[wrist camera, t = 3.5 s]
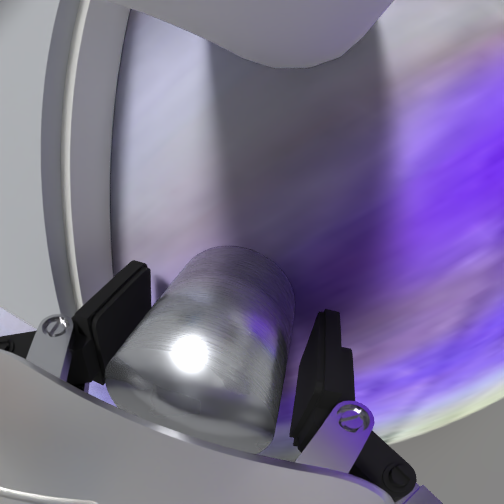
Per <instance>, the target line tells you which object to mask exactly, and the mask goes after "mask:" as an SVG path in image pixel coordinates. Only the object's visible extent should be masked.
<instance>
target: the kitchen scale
mask: <svg viewBox="0 0 504 504" xmlns="http://www.w3.org/2000/svg"><path fill="white" fill-rule="evenodd" d="M129 13H130V8H127V7H124V6H121V5H118V4H115V3H112V2H108V1H105V0H0V307H1V308H3V309H4V310H6V311H7V312H9V313H11V314H12V315H14V316H15V317H17V318H19V319H20V320H22V321H24V322H25V323H27V324H29V325H30V326H32V327H34V328H35V329H38V326H39V324H40V322H41V321H42V320H43V319H44V318H46V317H48V316H50V315H54V314H63V315H66V316H68V317H70V318H72V317H73V316H74V315H75V313H76V312H77V311H78V310H79V309H80V308H81V307H82V306H83V305H84V304H85V303H86V302H87V301H88V300H89V299H90V298H92V297H93V296H94V295H95V294H96V293H97V292H98V291H99V290H100V289H101V288H102V287H103V286H105V285H106V284H107V283H108V282H109V281H110V280H111V279H112V278H113V268H112V253H111V233H110V161H111V141H112V127H113V115H114V105H115V95H116V87H117V79H118V72H119V65H120V59H121V53H122V47H123V42H124V36H125V31H126V26H127V22H128V17H129Z"/></svg>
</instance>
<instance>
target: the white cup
mask: <svg viewBox="0 0 504 504" xmlns="http://www.w3.org/2000/svg"><path fill="white" fill-rule="evenodd" d="M105 1H108V2H112V3H115V4H118V5H121V6H124V7H127V8H130V9H133V10H136V11H139V12H142V13H144V14H147V15H150V16H152V17H155V18H158V19H160V20H163V21H165V22H168V23H170V24H172V25H175V26H177V27H179V28H182V29H184V30H186V31H189V32H191V33H193V34H195V35H197V36H200V37H202V38H204V39H206V40H208V41H210V42H212V43H214V44H216V45H218V46H220V47H222V48H224V49H226V50H228V51H230V52H232V53H234V54H236V55H237V56H239V57H241V58H243V59H246V60H249V61H253V62H256V63H259V64H262V65H265V66H268V67H271V68H310V67H313V66H316V65H319V64H322V63H324V62H327V61H330V60H333V59H336V58H339V57H341V56H342V55H343V54H344V53H346V52H347V51H348V50H349V49H350V48H351V47H352V46H354V45H355V44H356V43H357V42H358V41H359V40H361V39H362V38H363V36H364V35H365V34H366V33H367V32H368V30H369V29H370V28H371V27H372V26H373V24H374V23H375V22H376V21H377V20H378V18H379V17H380V16H381V15H382V14H383V12H384V11H385V10H386V9H387V8H388V7H389V5H390V4H391V3H392V2H393V1H394V0H105Z"/></svg>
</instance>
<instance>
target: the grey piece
mask: <svg viewBox="0 0 504 504" xmlns="http://www.w3.org/2000/svg"><path fill="white" fill-rule="evenodd" d="M294 312H295V296H294V292H293V289H292V286H291V284H290V282H289V280H288V278H287V277H286V275H285V274H284V273H283V271H282V270H281V269H280V268H279V267H278V266H277V265H276V264H275V263H274V262H272V261H271V260H270V259H268V258H267V257H265V256H263V255H262V254H260V253H257V252H255V251H253V250H250V249H246V248H243V247H237V246H219V247H214V248H210V249H207V250H205V251H203V252H201V253H199V254H197V255H196V256H195V257H193V258H192V259H191V260H190V261H189V262H188V264H187V265H186V266H185V267H184V268H183V270H182V271H181V272H180V273H179V274H178V276H177V277H176V278H175V279H174V281H173V282H172V283H171V284H170V285H169V287H168V288H167V289H166V290H165V292H164V293H163V294H162V295H161V297H160V298H159V299H158V300H157V302H156V303H155V304H154V305H153V307H152V308H151V309H150V310H149V312H148V313H147V314H146V315H145V317H144V318H143V319H142V320H141V322H140V323H139V324H138V325H137V327H136V328H135V329H134V331H133V332H132V333H131V334H130V336H129V337H128V338H127V340H126V341H125V342H124V343H123V345H122V346H121V347H120V349H119V350H118V351H117V353H116V354H115V355H114V356H113V358H112V359H111V360H110V362H109V363H108V365H107V367H106V370H105V383H106V387H107V390H108V392H109V394H110V396H111V398H112V400H113V401H114V403H115V404H116V406H117V407H118V408H119V409H122V410H124V411H126V412H128V413H131V414H133V415H135V416H138V417H140V418H143V419H145V420H148V421H150V422H153V423H155V424H158V425H161V426H163V427H166V428H169V429H171V430H174V431H177V432H180V433H183V434H186V435H189V436H192V437H195V438H198V439H201V440H205V441H208V442H211V443H215V444H218V445H221V446H225V447H229V448H233V449H236V450H240V451H244V452H248V453H253V454H258V453H260V452H261V451H263V450H264V449H266V448H267V447H268V446H269V445H270V443H271V441H272V440H273V437H274V433H275V428H276V422H277V417H278V412H279V406H280V400H281V395H282V389H283V383H284V377H285V371H286V365H287V359H288V352H289V346H290V339H291V333H292V326H293V319H294Z"/></svg>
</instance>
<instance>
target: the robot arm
mask: <svg viewBox="0 0 504 504" xmlns="http://www.w3.org/2000/svg"><path fill="white" fill-rule="evenodd" d="M150 309H151V275H150V269H149V268H147V264H145V263H142V262H138V261H135V260H133V261H131V262H130V263H129V264H128V265H127V266H126V267H125V268H123V269H122V270H121V271H120V272H119V273H118V274H117V275H116V276H114V277H113V278H112V279H111V280H110V281H109V282H108V283H107V284H106V285H105V286H103V287H102V288H101V289H100V290H99V291H98V292H97V293H96V294H95V295H94V296H93V297H92V298H90V299H89V300H88V301H87V302H86V303H85V304H84V305H83V306H82V307H81V308H80V309H79V310H78V311H77V312H76V313H75V315H74V316H73V317H72V318H70V317H68V316H66V315H63V314H54V315H50V316H48V317H46V318H44V319H43V320H42V321H41V322H40V324H39V326H38V329H37V331H33V332H27V333H20V334H14V335H7V336H2V337H0V504H443V503H442V502H441V501H440V500H438V499H437V498H436V497H435V496H434V495H433V494H432V493H431V492H430V491H429V490H428V489H427V488H426V487H425V486H424V485H422V486H421V487H420V486H419V485H418V484H417V483H416V474H415V471H414V469H413V468H412V467H411V466H410V465H409V464H408V463H407V462H406V461H405V460H404V459H403V458H402V457H400V456H399V455H398V454H397V453H396V452H395V451H394V450H393V449H391V448H390V447H389V446H388V445H387V444H386V443H385V442H384V441H383V440H382V439H381V438H380V437H379V436H378V435H376V434H375V433H374V432H373V431H372V429H373V426H374V417H373V415H372V413H371V411H370V410H369V409H368V408H367V407H366V406H365V405H363V404H361V403H359V402H356V401H355V390H354V371H353V356H352V350H351V349H349V348H344V347H341V327H340V313H339V312H337V311H332V310H328V309H325V310H324V312H319V313H318V315H317V318H316V321H315V324H314V326H313V329H312V332H311V335H310V337H309V340H308V343H307V346H306V348H305V351H304V354H303V356H302V359H301V362H300V365H299V372H298V379H297V387H296V394H295V402H294V408H293V415H292V422H291V428H290V437H293V438H294V443H293V446H298V450H299V451H300V452H301V454H300V455H299V457H298V458H297V459H296V461H295V462H290V461H285V460H280V459H275V458H270V457H266V456H261V455H257V454H253V453H248V452H244V451H240V450H236V449H233V448H229V447H225V446H221V445H218V444H215V443H211V442H208V441H205V440H201V439H198V438H195V437H192V436H189V435H186V434H183V433H180V432H177V431H174V430H171V429H169V428H166V427H163V426H161V425H158V424H155V423H153V422H150V421H148V420H145V419H143V418H140V417H138V416H135V415H133V414H131V413H128V412H126V411H124V410H122V409H119V408H117V407H115V406H113V405H111V404H108V403H106V402H104V401H102V400H100V399H98V398H96V397H94V396H92V395H90V394H88V390H89V382H92V381H95V382H97V383H99V384H101V385H104V384H105V370H106V367H107V365H108V363H109V362H110V360H111V359H112V358H113V356H114V355H115V354H116V353H117V351H118V350H119V349H120V347H121V346H122V345H123V343H124V342H125V341H126V340H127V338H128V337H129V336H130V334H131V333H132V332H133V331H134V329H135V328H136V327H137V325H138V324H139V323H140V322H141V320H142V319H143V318H144V317H145V315H146V314H147V313H148V312H149V310H150Z"/></svg>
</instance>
